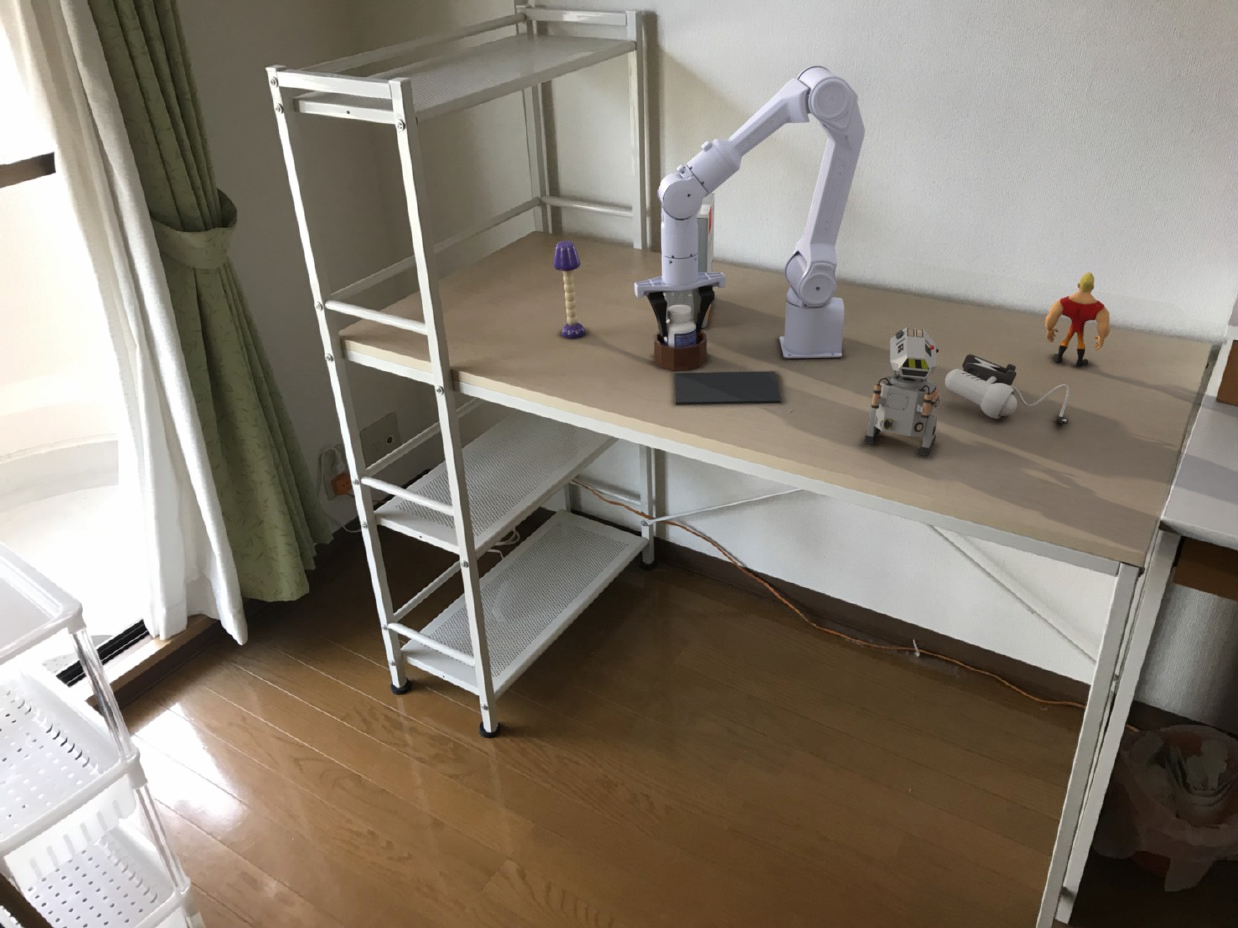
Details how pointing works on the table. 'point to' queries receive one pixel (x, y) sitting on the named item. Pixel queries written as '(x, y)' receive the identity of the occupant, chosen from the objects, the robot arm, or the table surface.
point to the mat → (726, 388)
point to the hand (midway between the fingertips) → (680, 332)
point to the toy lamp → (568, 285)
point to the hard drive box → (699, 255)
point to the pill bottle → (680, 327)
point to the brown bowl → (680, 353)
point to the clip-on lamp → (992, 387)
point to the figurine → (907, 391)
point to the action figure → (1079, 318)
